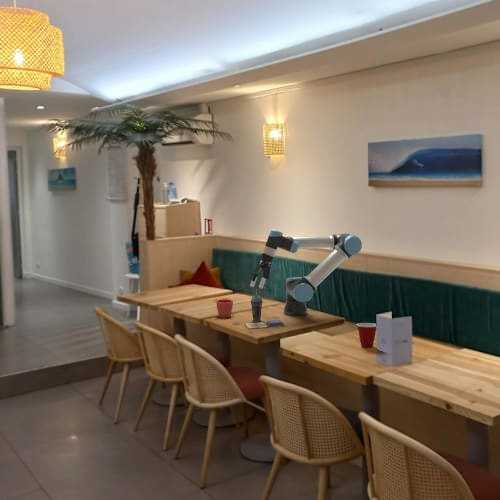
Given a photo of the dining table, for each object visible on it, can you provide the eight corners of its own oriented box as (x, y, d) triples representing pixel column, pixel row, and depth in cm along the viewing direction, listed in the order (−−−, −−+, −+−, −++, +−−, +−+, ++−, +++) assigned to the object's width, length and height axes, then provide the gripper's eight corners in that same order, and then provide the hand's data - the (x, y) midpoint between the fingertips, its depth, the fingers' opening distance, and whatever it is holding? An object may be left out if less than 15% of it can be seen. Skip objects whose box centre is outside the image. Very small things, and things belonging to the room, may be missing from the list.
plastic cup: (376, 344, 327) (376, 321, 326) (378, 349, 317) (379, 326, 315) (355, 343, 328) (355, 321, 327) (356, 349, 318) (357, 326, 316)
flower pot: (236, 315, 400) (236, 300, 399) (227, 318, 391) (226, 303, 390) (222, 313, 406) (222, 298, 405) (213, 316, 397) (212, 301, 396)
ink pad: (280, 322, 379) (280, 319, 378) (284, 325, 370) (284, 322, 370) (265, 323, 377) (265, 320, 377) (269, 326, 368) (269, 323, 368)
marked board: (264, 323, 377) (264, 322, 377) (268, 327, 365) (268, 326, 365) (244, 324, 375) (244, 323, 375) (248, 329, 363) (248, 328, 363)
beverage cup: (262, 318, 389) (262, 286, 387) (263, 321, 382) (262, 288, 380) (250, 319, 389) (250, 287, 387) (251, 321, 382) (250, 289, 379)
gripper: (270, 254, 395) (259, 286, 396) (254, 250, 372) (242, 283, 373) (281, 258, 392) (269, 290, 392) (265, 254, 369) (253, 288, 370)
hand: (256, 287), depth 383 cm, fingers open, 13 cm apart
